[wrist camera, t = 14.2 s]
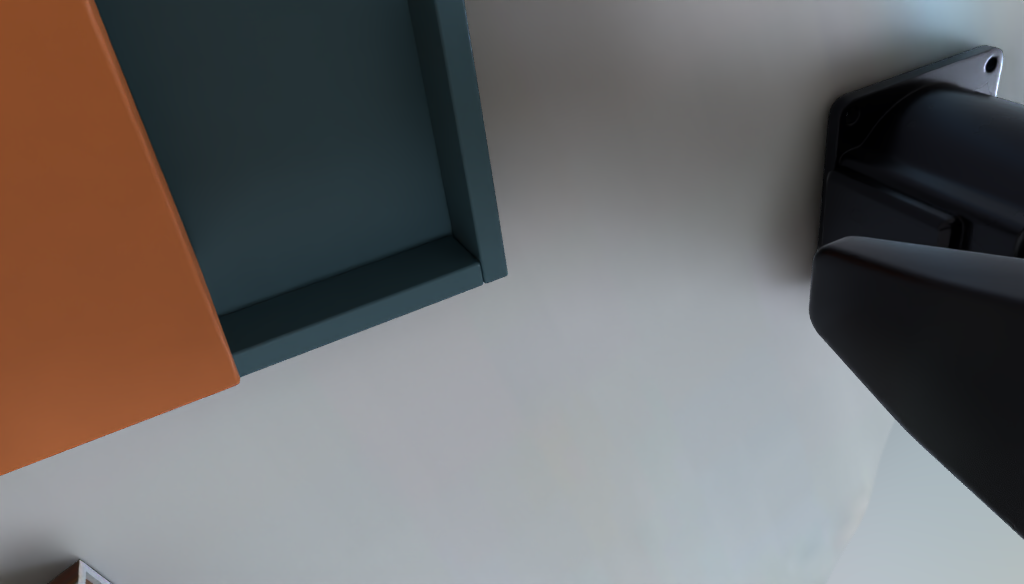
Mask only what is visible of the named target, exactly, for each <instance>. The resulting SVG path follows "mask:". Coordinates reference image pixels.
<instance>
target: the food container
mask: <svg viewBox="0 0 1024 584" xmlns="http://www.w3.org/2000/svg"><path fill="white" fill-rule="evenodd" d="M48 584H111V583H110V582H109V581H107V580H106V579H105V578H103V577H102V576H101V575H99V574H98V573H97V572H95V571H94V570H93V569H91V568H90V567H89V566H88V565H86V564H85V563H84V562H82V561H81V560H80V559H79V560H78V561H77V562H75V563H74V564H73V565H72V566H70V567H69V568H68V569H66V570H65V571H64V572H62V573H61V574H60V575H58V576H57V577H56V578H55V579H53V580H52V581H51V582H49V583H48Z"/></svg>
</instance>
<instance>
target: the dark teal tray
mask: <svg viewBox="0 0 1024 584" xmlns="http://www.w3.org/2000/svg"><path fill="white" fill-rule="evenodd" d="M95 2H96V5H97V7H98V10H99V12H100V15H101V17H102V20H103V22H104V25H105V27H106V30H107V32H108V35H109V37H110V40H111V42H112V45H113V47H114V50H115V52H116V55H117V57H118V60H119V63H120V65H121V68H122V70H123V73H124V75H125V78H126V80H127V83H128V85H129V88H130V90H131V93H132V95H133V98H134V100H135V103H136V105H137V108H138V110H139V113H140V115H141V118H142V121H143V123H144V126H145V128H146V131H147V133H148V136H149V138H150V141H151V143H152V146H153V148H154V151H155V153H156V156H157V158H158V161H159V163H160V166H161V168H162V171H163V173H164V176H165V179H166V181H167V184H168V186H169V189H170V191H171V194H172V196H173V199H174V201H175V204H176V206H177V209H178V211H179V214H180V216H181V219H182V221H183V224H184V226H185V229H186V231H187V234H188V237H189V239H190V242H191V244H192V247H193V249H194V252H195V254H196V257H197V260H198V262H199V265H200V268H201V271H202V273H203V277H204V279H205V282H206V285H207V288H208V290H209V293H210V296H211V299H212V301H213V304H214V307H215V310H216V312H217V315H218V318H219V321H220V324H221V326H222V329H223V332H224V335H225V337H226V340H227V343H228V346H229V348H230V351H231V354H232V357H233V359H234V362H235V365H236V368H237V370H238V373H239V376H240V377H242V376H245V375H247V374H250V373H253V372H255V371H258V370H261V369H263V368H266V367H268V366H271V365H274V364H276V363H279V362H282V361H284V360H287V359H289V358H292V357H295V356H297V355H300V354H303V353H305V352H308V351H310V350H313V349H316V348H318V347H321V346H324V345H326V344H329V343H331V342H334V341H337V340H339V339H342V338H345V337H347V336H350V335H352V334H355V333H358V332H360V331H363V330H366V329H368V328H371V327H373V326H376V325H379V324H381V323H384V322H387V321H389V320H392V319H394V318H397V317H400V316H402V315H405V314H408V313H410V312H413V311H415V310H418V309H421V308H423V307H426V306H429V305H431V304H434V303H436V302H439V301H442V300H444V299H447V298H450V297H452V296H455V295H457V294H460V293H463V292H465V291H468V290H471V289H473V288H476V287H478V286H481V285H483V282H484V283H489V282H492V281H494V280H497V279H500V278H502V277H505V276H507V275H508V271H507V265H506V259H505V252H504V246H503V240H502V234H501V227H500V221H499V215H498V209H497V202H496V196H495V190H494V184H493V177H492V171H491V165H490V159H489V152H488V146H487V140H486V134H485V127H484V121H483V115H482V109H481V102H480V96H479V90H478V83H477V77H476V71H475V65H474V58H473V52H472V46H471V40H470V33H469V27H468V21H467V15H466V8H465V2H464V0H95Z"/></svg>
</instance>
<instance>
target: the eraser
mask: <svg viewBox="0 0 1024 584" xmlns="http://www.w3.org/2000/svg"><path fill="white" fill-rule="evenodd" d="M239 382H240V376H239V373H238V370H237V368H236V365H235V362H234V359H233V357H232V354H231V351H230V348H229V346H228V343H227V340H226V337H225V335H224V332H223V329H222V326H221V324H220V321H219V318H218V315H217V312H216V310H215V307H214V304H213V301H212V299H211V296H210V293H209V290H208V288H207V285H206V282H205V279H204V277H203V273H202V271H201V268H200V265H199V262H198V260H197V257H196V254H195V252H194V249H193V247H192V244H191V242H190V239H189V237H188V234H187V231H186V229H185V226H184V224H183V221H182V219H181V216H180V214H179V211H178V209H177V206H176V204H175V201H174V199H173V196H172V194H171V191H170V189H169V186H168V184H167V181H166V179H165V176H164V173H163V171H162V168H161V166H160V163H159V161H158V158H157V156H156V153H155V151H154V148H153V146H152V143H151V141H150V138H149V136H148V133H147V131H146V128H145V126H144V123H143V121H142V118H141V115H140V113H139V110H138V108H137V105H136V103H135V100H134V98H133V95H132V93H131V90H130V88H129V85H128V83H127V80H126V78H125V75H124V73H123V70H122V68H121V65H120V63H119V60H118V57H117V55H116V52H115V50H114V47H113V45H112V42H111V40H110V37H109V35H108V32H107V30H106V27H105V25H104V22H103V20H102V17H101V15H100V12H99V10H98V7H97V5H96V2H95V0H0V476H1V475H3V474H6V473H9V472H11V471H14V470H16V469H19V468H22V467H24V466H27V465H30V464H32V463H35V462H37V461H40V460H43V459H45V458H48V457H50V456H53V455H56V454H58V453H61V452H63V451H66V450H69V449H71V448H74V447H77V446H79V445H82V444H84V443H87V442H90V441H92V440H95V439H97V438H100V437H103V436H105V435H108V434H110V433H113V432H116V431H118V430H121V429H124V428H126V427H129V426H131V425H134V424H137V423H139V422H142V421H144V420H147V419H150V418H152V417H155V416H158V415H160V414H163V413H165V412H168V411H171V410H173V409H176V408H178V407H181V406H184V405H186V404H189V403H191V402H194V401H197V400H199V399H202V398H205V397H207V396H210V395H212V394H215V393H218V392H220V391H223V390H225V389H228V388H231V387H233V386H236V385H237V384H239Z"/></svg>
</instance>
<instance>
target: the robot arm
mask: <svg viewBox="0 0 1024 584" xmlns="http://www.w3.org/2000/svg"><path fill="white" fill-rule="evenodd" d="M1002 63H1003V52H1002V50H1001V49H999V48H996V47H992V46H988V45H985V46H980V47H977V48H975V49H972V50H969V51H966V52H963V53H961V54H958V55H955V56H952V57H949V58H947V59H944V60H941V61H938V62H935V63H933V64H930V65H927V66H924V67H921V68H918V69H916V70H913V71H910V72H907V73H904V74H902V75H899V76H896V77H893V78H890V79H888V80H885V81H882V82H879V83H876V84H873V85H871V86H868V87H865V88H862V89H859V90H857V91H854V92H851V93H848V94H845V95H843V96H841V97H840V98H838V99H837V100H836V101H835V102H834V103H833V105H832V107H831V109H830V112H829V117H828V129H827V141H826V154H825V166H824V179H823V191H822V203H821V216H820V228H819V241H818V250H817V252H816V254H815V256H814V258H813V262H812V275H811V288H810V302H809V315H810V319H811V322H812V324H813V326H814V328H815V330H816V331H817V333H818V334H819V335H820V336H821V337H822V338H823V339H824V341H825V342H826V343H827V344H828V345H829V346H830V347H831V348H832V349H833V351H834V352H835V353H836V354H837V355H838V356H839V357H840V358H841V359H842V361H843V362H844V363H845V364H846V365H847V366H848V367H849V368H850V369H851V371H852V372H853V373H854V374H855V375H856V376H857V377H858V378H859V379H860V381H861V382H862V383H863V384H864V385H865V386H866V387H867V388H868V389H869V391H870V392H871V393H872V394H873V395H874V396H875V397H876V398H877V400H878V401H879V402H880V403H881V404H882V405H883V406H884V407H885V408H886V410H887V411H888V412H889V413H890V414H891V415H892V416H893V417H894V418H895V419H896V420H897V421H898V422H899V423H900V425H901V426H902V427H903V428H904V429H905V430H906V431H907V432H908V433H909V434H910V435H911V436H912V437H913V438H914V439H915V440H916V441H918V443H919V444H920V445H922V446H923V447H924V448H925V449H926V450H927V451H928V452H929V453H930V454H931V455H932V456H934V457H935V458H936V459H937V460H938V461H939V462H940V463H941V464H942V465H943V466H944V467H946V468H947V469H948V470H949V471H950V472H951V473H952V474H953V475H954V476H955V477H956V478H957V479H959V480H960V481H961V482H962V483H963V484H964V485H965V486H966V487H968V489H969V490H970V491H972V492H973V493H974V494H975V495H976V496H977V497H978V498H979V499H981V501H983V502H984V503H985V504H986V505H987V506H988V507H989V508H990V509H991V510H992V511H993V512H995V513H996V514H997V515H998V516H999V517H1000V518H1001V519H1002V520H1003V521H1004V522H1005V523H1006V524H1008V525H1009V526H1010V527H1011V528H1012V529H1013V530H1014V531H1015V532H1016V533H1017V534H1018V535H1020V536H1021V537H1022V538H1023V539H1024V105H1022V104H1019V103H1015V102H1012V101H1009V100H1005V99H1002V98H998V97H996V94H997V89H998V84H999V79H1000V74H1001V69H1002ZM847 113H848V114H847ZM846 115H847V116H846Z"/></svg>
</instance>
